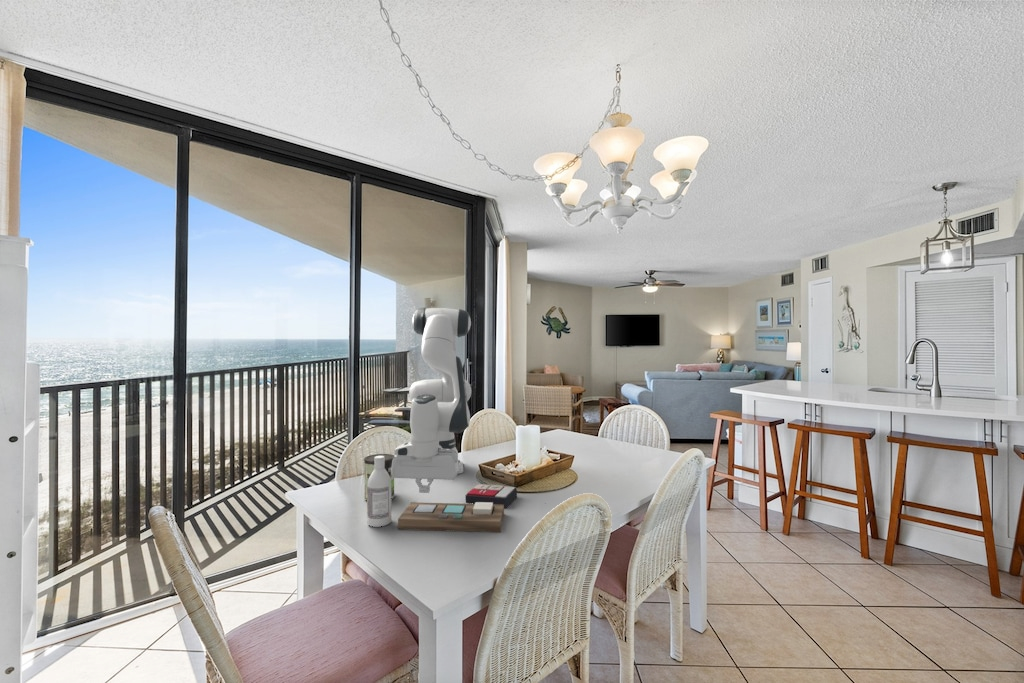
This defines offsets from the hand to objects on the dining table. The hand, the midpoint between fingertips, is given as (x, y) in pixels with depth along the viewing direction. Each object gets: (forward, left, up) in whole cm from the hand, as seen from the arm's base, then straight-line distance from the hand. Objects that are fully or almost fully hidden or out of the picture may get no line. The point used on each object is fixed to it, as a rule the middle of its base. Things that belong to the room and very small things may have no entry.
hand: (424, 492), depth 135 cm
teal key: (+1, +9, -7) cm, 12 cm away
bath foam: (+5, -13, -8) cm, 16 cm away
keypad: (+2, +9, -8) cm, 12 cm away
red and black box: (-16, +19, -9) cm, 27 cm away
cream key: (+1, +18, -5) cm, 19 cm away
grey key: (+1, 0, -7) cm, 7 cm away
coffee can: (-16, -21, -8) cm, 28 cm away
